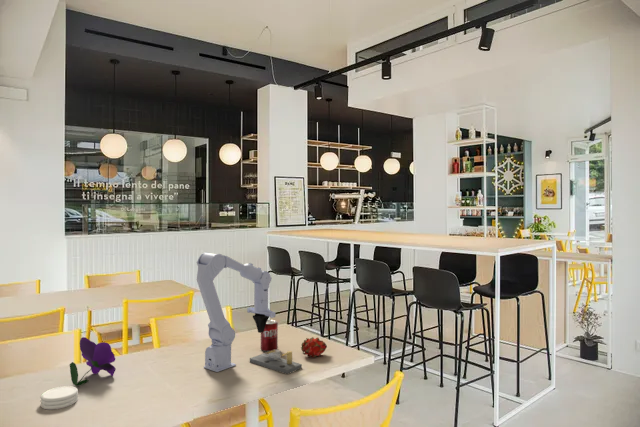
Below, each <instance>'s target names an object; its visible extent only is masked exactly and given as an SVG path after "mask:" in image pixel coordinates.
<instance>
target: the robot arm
mask: <svg viewBox="0 0 640 427" xmlns="http://www.w3.org/2000/svg"><path fill="white" fill-rule="evenodd" d="M196 265H197V274H196V281H197V285H198V288H199V291H200V294H201V297H202V300H203V303H204V307H205V309H206V310H205V311H206V313H207V315H208V318H209V323H208V324H207V327H208V337H209V338H210V339H211V344H210V345H209V346H208V347H206V348H205V353H204V366H203V368H205V369H207V370H210V371H213V372H215V373H219V372H221V371H224V370H227V369H230V368H232V367H235V366H236V365H237V364H236V363H234V362H232V344H233V342H234V340H235V338H236V331H235V330H234V328H233V327H232V326H231V324H230V322H229V321H228V320H227V318H225V314H224V312H223V308H222V304H221V301H220V299H219V296H218V292H217V290H216V286H215V284H214V280H215V278H216V277H218V275H219V274H220V273H221V271H223V269H227V268H228V269H230V270H234V271H236V272H239V275H240V277H242V278H244V279H246V280H249V281H251V282H252V283H253V284H254V285H253V286H254V288H253V289H254V290H253V292H254V294H253V296H254V297H253V298H254V299H253V301H254V302H253V303H254V304H253V307H251V306H249V307H247V309H246V310H247V311H246V312H247V313H251V314H254V315H252V318H253V320H254V322H255V325H256V330H257V332H258V333H260V334H261V333H262V332H264V329H265V325H266V322H267V320H269V319H270V318H276V311H272V310H270V308H269V288H270V283H271V282H272V276H271V274H270V273H269V271H266V270H263V269H262V268H261V267H257V266H254V263H251V262H248V263H241V262H239V261H237V260H236V259H234V258H231V257H229V256H227V255H223V254H221V253H211V252H207V251H205V252H202V253H201V254H200V255H199V257H198V258H197V260H196Z"/></svg>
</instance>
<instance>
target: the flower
mask: <svg viewBox="0 0 640 427" xmlns="http://www.w3.org/2000/svg"><path fill="white" fill-rule="evenodd" d="M79 349H80V351H81V356H82V358H83V359H84V360H86V362H85V363H86V366H88V367H90V369H88V371H86V372H85V373H84V375H83V376H82V377H81V379H80V380H79V372H78V367H77V364H76V363H75V362H73V361H72V362H71V363H69V371H70V378H71V383H72V386H73V385H74V386H75V387H80V386H83V385H84V384H86V383H88V382H89V381H90V380H89V379H87V378H85V379H83V378H84V377H85V376H86V374H89V372H91V373H92V374H95V375H97V374H99V373H100V371H102V370H103V371H105V372H107V373H108V374H109V375H110V376H111V377H113V376H114V375H115V372H116V367H115V366H114V365H112V364H111V363H114V362H115V361H116V357H115V354H114V352H113V351H112V347H111V345H110V343H108V342H105V341H104V342H99V343H95V341H91V340H90V339H89V338H87V337H86V336H85V337H83V336H82V337H81V338H80V339H79Z"/></svg>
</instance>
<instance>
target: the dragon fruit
mask: <svg viewBox="0 0 640 427" xmlns="http://www.w3.org/2000/svg"><path fill="white" fill-rule="evenodd" d="M327 348H328V346H327V343H326V342H325V341H323V340H320V338H319V337H316V338H314V337H313V336H312V337H311V338H308V337H306V339H305V340H303V342H302V343H301V347H300V349H301V351H302V354H303V355H305V356H307V357H308V356H309V357H308V358H310V357H312V358H314V357H315V358H316V357H320V356H319V355H321V354H323V353H324V352H325V351H326V349H327Z"/></svg>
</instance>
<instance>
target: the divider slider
mask: <svg viewBox="0 0 640 427" xmlns="http://www.w3.org/2000/svg"><path fill="white" fill-rule="evenodd" d="M266 354H269V359H270V360H273V361H275V360H278V359H280V358H282V354H281V350H279V349H277V350H276V349H274V350H271V351H269V352H266Z"/></svg>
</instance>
